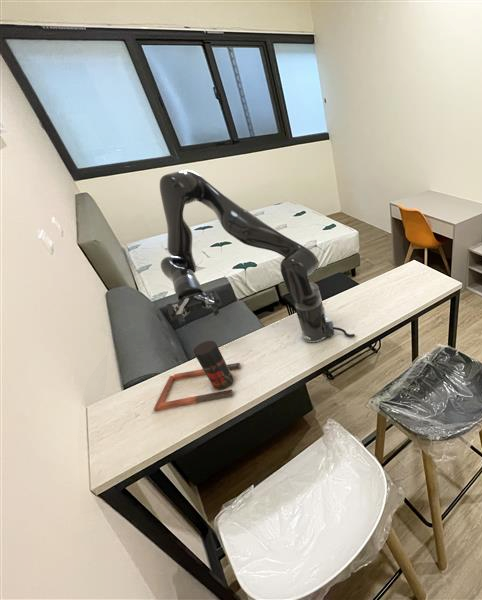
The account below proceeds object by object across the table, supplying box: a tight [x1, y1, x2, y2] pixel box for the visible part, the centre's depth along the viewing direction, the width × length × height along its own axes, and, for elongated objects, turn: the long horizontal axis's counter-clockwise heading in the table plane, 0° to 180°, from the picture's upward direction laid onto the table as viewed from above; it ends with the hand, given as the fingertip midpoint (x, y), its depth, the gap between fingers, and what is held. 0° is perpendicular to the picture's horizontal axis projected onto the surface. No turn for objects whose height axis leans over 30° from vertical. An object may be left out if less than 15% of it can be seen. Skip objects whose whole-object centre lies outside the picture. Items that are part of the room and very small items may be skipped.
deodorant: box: [193, 340, 235, 391], centre depth 97 cm, size 6×6×15 cm
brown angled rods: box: [153, 362, 242, 412], centre depth 100 cm, size 22×13×2 cm, turn 102°
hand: (200, 318), depth 98 cm, fingers open, 8 cm apart
